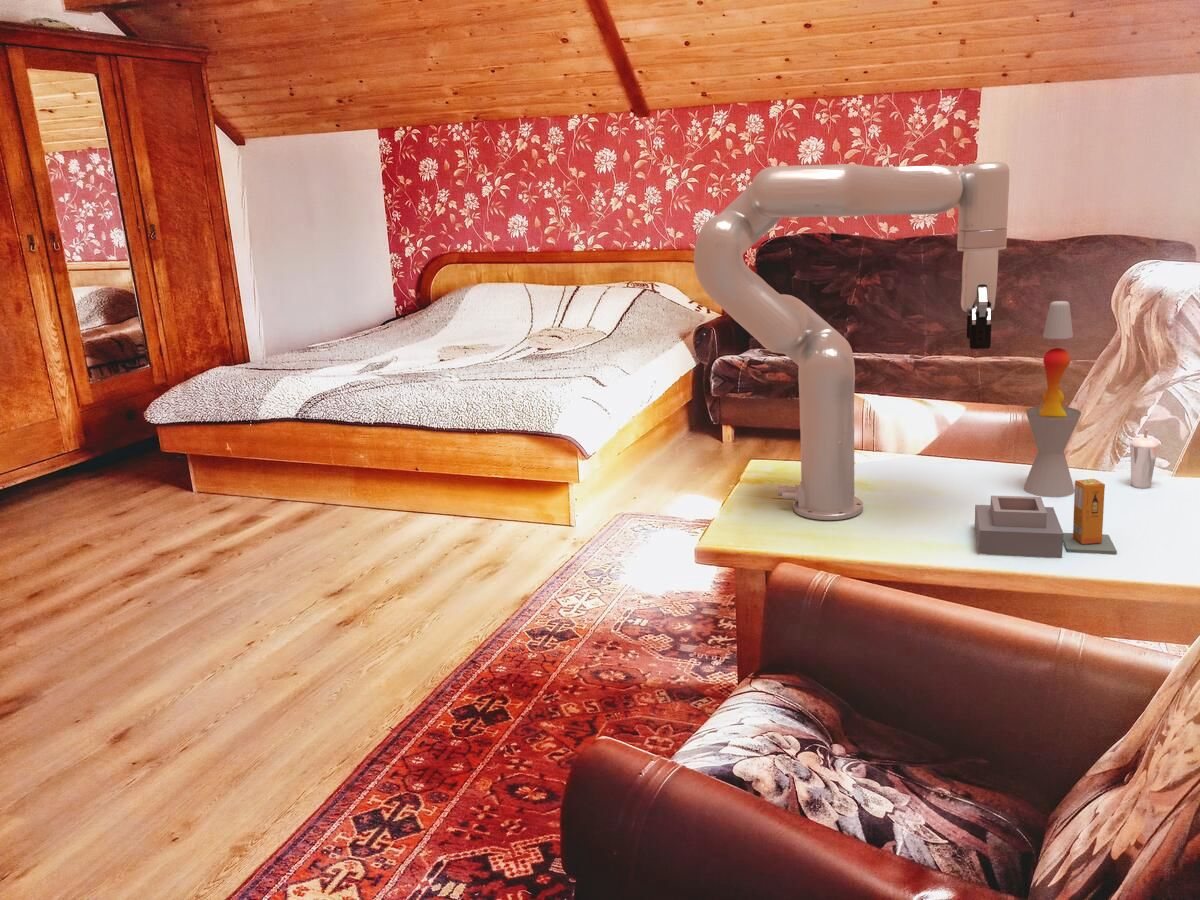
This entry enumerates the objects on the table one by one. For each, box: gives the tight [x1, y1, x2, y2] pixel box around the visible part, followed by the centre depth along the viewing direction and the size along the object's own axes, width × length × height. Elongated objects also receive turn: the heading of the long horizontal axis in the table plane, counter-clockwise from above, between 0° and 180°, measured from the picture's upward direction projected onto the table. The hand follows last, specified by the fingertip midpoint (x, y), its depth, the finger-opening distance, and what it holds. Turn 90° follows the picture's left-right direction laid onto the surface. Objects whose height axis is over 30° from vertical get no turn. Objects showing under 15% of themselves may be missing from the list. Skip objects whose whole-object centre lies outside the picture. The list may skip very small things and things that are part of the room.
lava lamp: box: [1023, 300, 1082, 498], centre depth 169 cm, size 9×9×35 cm
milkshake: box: [1129, 428, 1160, 489], centre depth 171 cm, size 5×5×10 cm
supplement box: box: [1072, 478, 1106, 544], centre depth 147 cm, size 3×3×10 cm
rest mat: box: [1063, 532, 1118, 555], centre depth 148 cm, size 7×7×1 cm
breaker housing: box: [974, 495, 1064, 559], centre depth 151 cm, size 12×12×6 cm
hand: (978, 343), depth 158 cm, fingers open, 9 cm apart
